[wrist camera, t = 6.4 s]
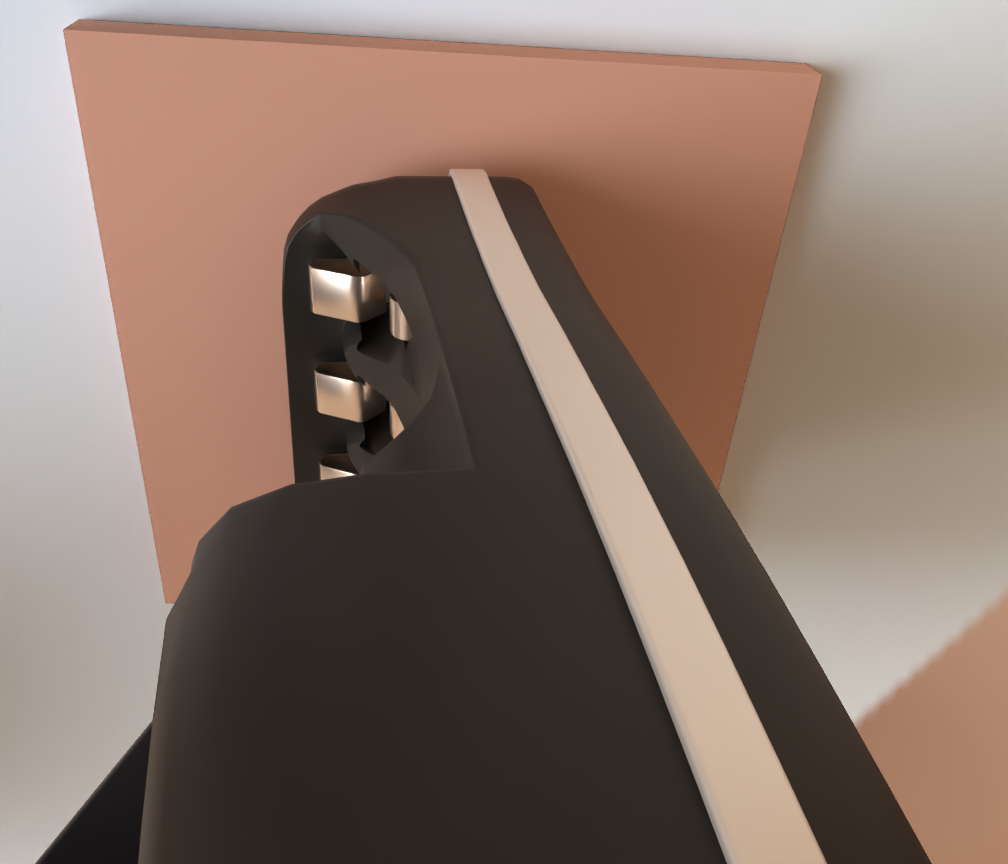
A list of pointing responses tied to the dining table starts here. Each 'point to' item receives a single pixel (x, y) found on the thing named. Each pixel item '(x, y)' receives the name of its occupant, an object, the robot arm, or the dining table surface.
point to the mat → (412, 152)
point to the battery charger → (487, 591)
